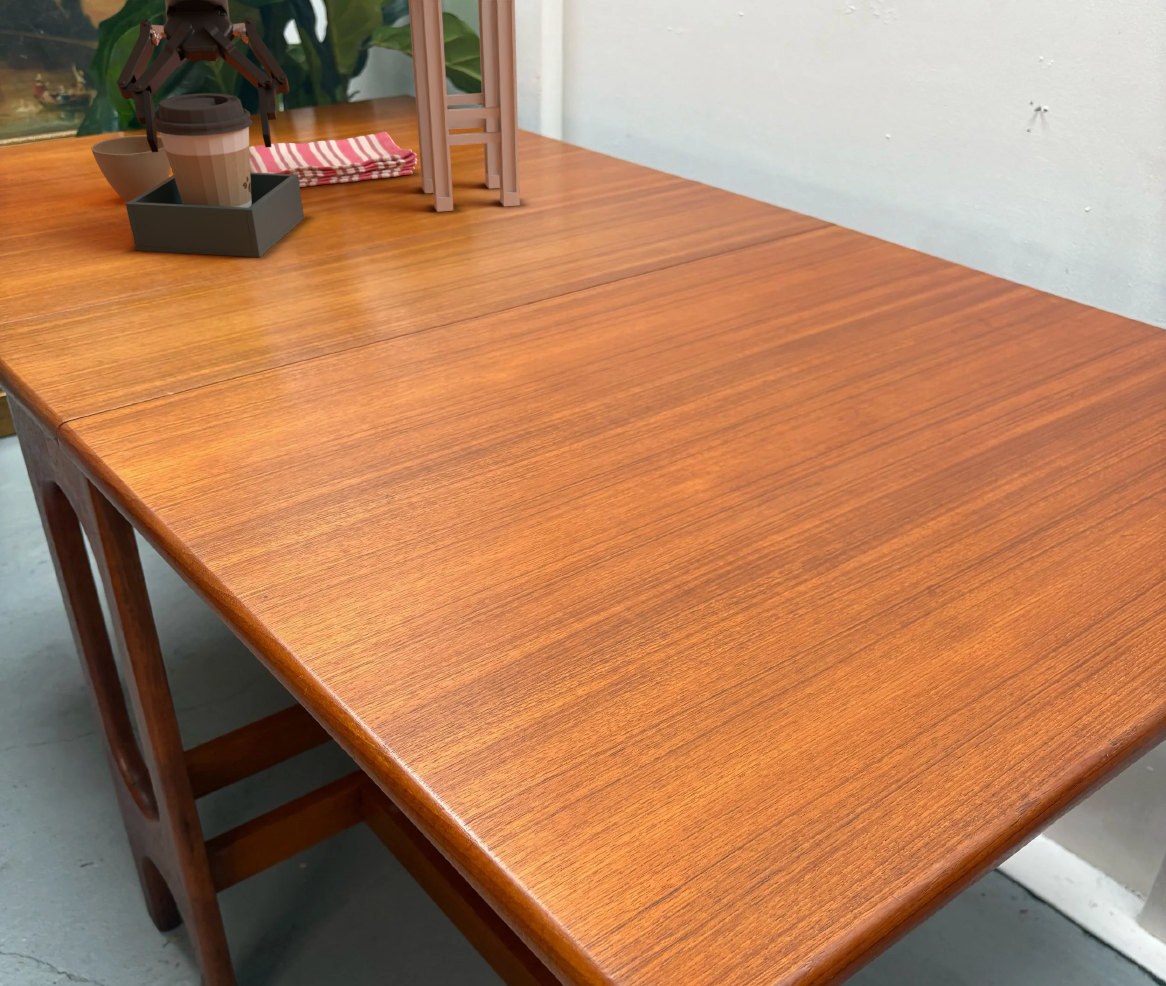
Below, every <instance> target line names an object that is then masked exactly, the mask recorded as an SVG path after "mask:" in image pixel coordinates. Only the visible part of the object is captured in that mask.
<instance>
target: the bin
mask: <svg viewBox="0 0 1166 986" xmlns="http://www.w3.org/2000/svg"><path fill="white" fill-rule="evenodd" d="M250 176H251V201H252V205H251V206H250V207H249V208H245V207H224V206H204V205H183V203H182V200H181V197H180V194H179V190H178V187H177V184H176V181H175V178H174V175H173V174H172V175H171V176H169V178H167V179H166V180H164V181H162V182H161V183H159V184H157V185H156V186H154V187H152V188H151V189H149V190H147V191H146V192H144V193H142V194H141V195H139V196H137V197H136V198H134V199H132V200H131V201H129V202H125V208H126V212H127V217H128V222H129V225H130V229H131V235H132V239H133V244H134V248H135V251H138V252H153V253H173V254H190V255H192V254H194V255H209V256H210V255H211V256H212V255H213V256H228V257H229V256H230V257H247V258H249V257H250V258H261V257H262V256H263V255H265V254H266V253H267V251H269V250H270V249H271V248H272V247H274V246H275V245H276V244H277V243H278V242H279V241H280V240H281V239H283V238H284V237H285V236H286V235H287V234H288V233H290V232H291V231H292V230H293V229H294V228H295V227H296V226H297V225H298V224H300V223H301V222H303V220H305V215H304V209H303V200H302V194H301V187H300V185H299V178H298V175H294V174H274V173H251V172H250Z"/></svg>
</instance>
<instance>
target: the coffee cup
mask: <svg viewBox="0 0 1166 986" xmlns="http://www.w3.org/2000/svg"><path fill="white" fill-rule="evenodd" d="M153 121H154V123H155V126H154V129H155V130H156V131H157V132H158V133H159V135H160V136H159V137H161V139H162V142H163V145H164V148H165V151H166V154H167V157H168V160H169V163H170V166H171V167H170V170H171V172H172V175H174V178H175V181H176V184H177V187H178V190H179V194H180V197H181V200H182V203H183V205H204V206H224V207H245V208H249V207H250V206H251V205H252V201H251V176H250V150H249V147H250V126H252V125H253V120H252V119H251V112H250V111H248V110H247V109H246V108H244V107H243V105H242V100H241V99H240V98H239V97H237V96H235V95H232V94H226V93H213V92H212V93H210V92H208V93H207V92H206V93H205V92H203V93H188V94H183V95H182V94H180V95H175V96H174V95H173V96H171V97H167V98H165V99H162V100H161V101H159V103H158V113H155V117H154V119H153Z"/></svg>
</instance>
